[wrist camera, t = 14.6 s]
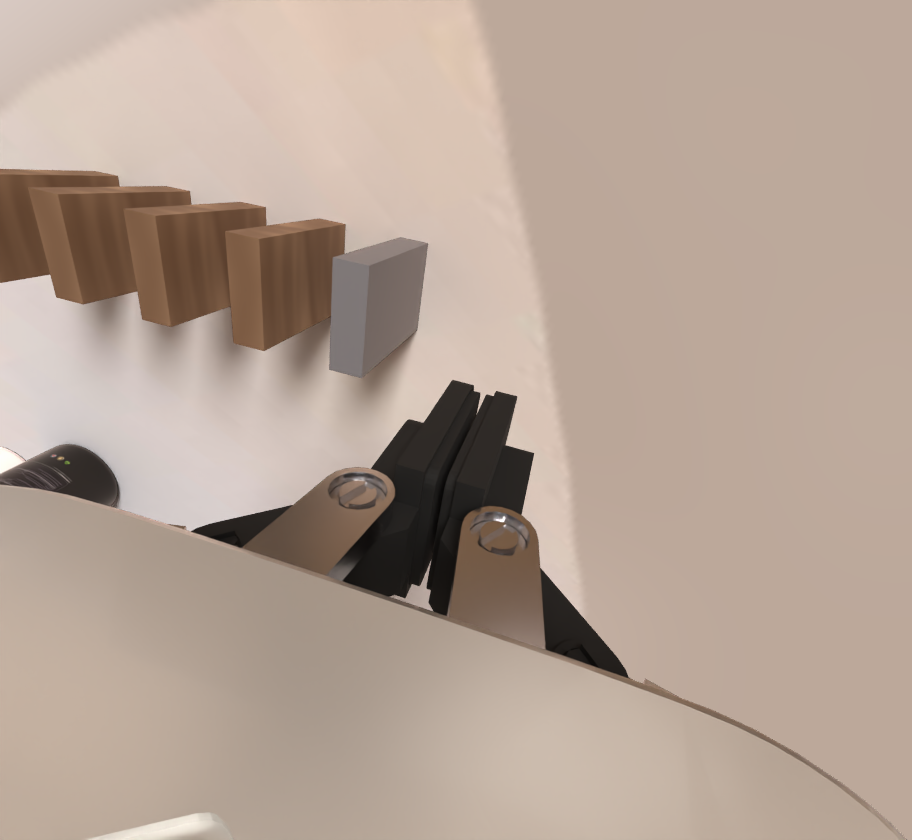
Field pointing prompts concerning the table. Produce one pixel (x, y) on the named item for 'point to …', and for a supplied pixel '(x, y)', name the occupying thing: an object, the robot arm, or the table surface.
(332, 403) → the table surface
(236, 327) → the domino
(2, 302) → the table surface
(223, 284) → the domino
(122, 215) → the domino
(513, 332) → the table surface
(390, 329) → the domino
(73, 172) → the domino
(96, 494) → the supplement bottle
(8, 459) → the water bottle
